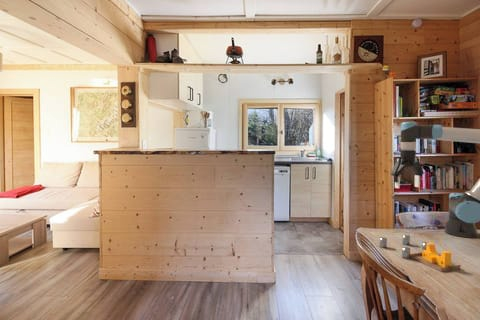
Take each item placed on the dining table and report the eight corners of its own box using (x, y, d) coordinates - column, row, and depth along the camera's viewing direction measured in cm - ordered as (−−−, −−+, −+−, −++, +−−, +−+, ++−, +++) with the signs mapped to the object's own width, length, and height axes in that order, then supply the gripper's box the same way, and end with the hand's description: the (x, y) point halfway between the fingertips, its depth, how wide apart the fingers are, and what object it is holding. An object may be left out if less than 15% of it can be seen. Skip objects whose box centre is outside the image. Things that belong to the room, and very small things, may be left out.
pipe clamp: (422, 257, 137) (422, 243, 137) (431, 256, 137) (432, 243, 137) (440, 268, 125) (441, 253, 125) (450, 268, 125) (451, 252, 125)
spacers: (406, 243, 158) (406, 234, 157) (436, 255, 140) (436, 245, 140) (378, 246, 153) (378, 237, 153) (405, 259, 136) (406, 249, 136)
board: (427, 254, 141) (427, 251, 141) (460, 268, 126) (460, 265, 126) (409, 257, 138) (409, 254, 138) (441, 271, 123) (441, 268, 123)
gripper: (420, 149, 176) (419, 185, 177) (384, 150, 169) (383, 187, 171) (431, 149, 169) (430, 187, 170) (394, 150, 162) (393, 189, 163)
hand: (407, 187), depth 170 cm, fingers open, 13 cm apart
